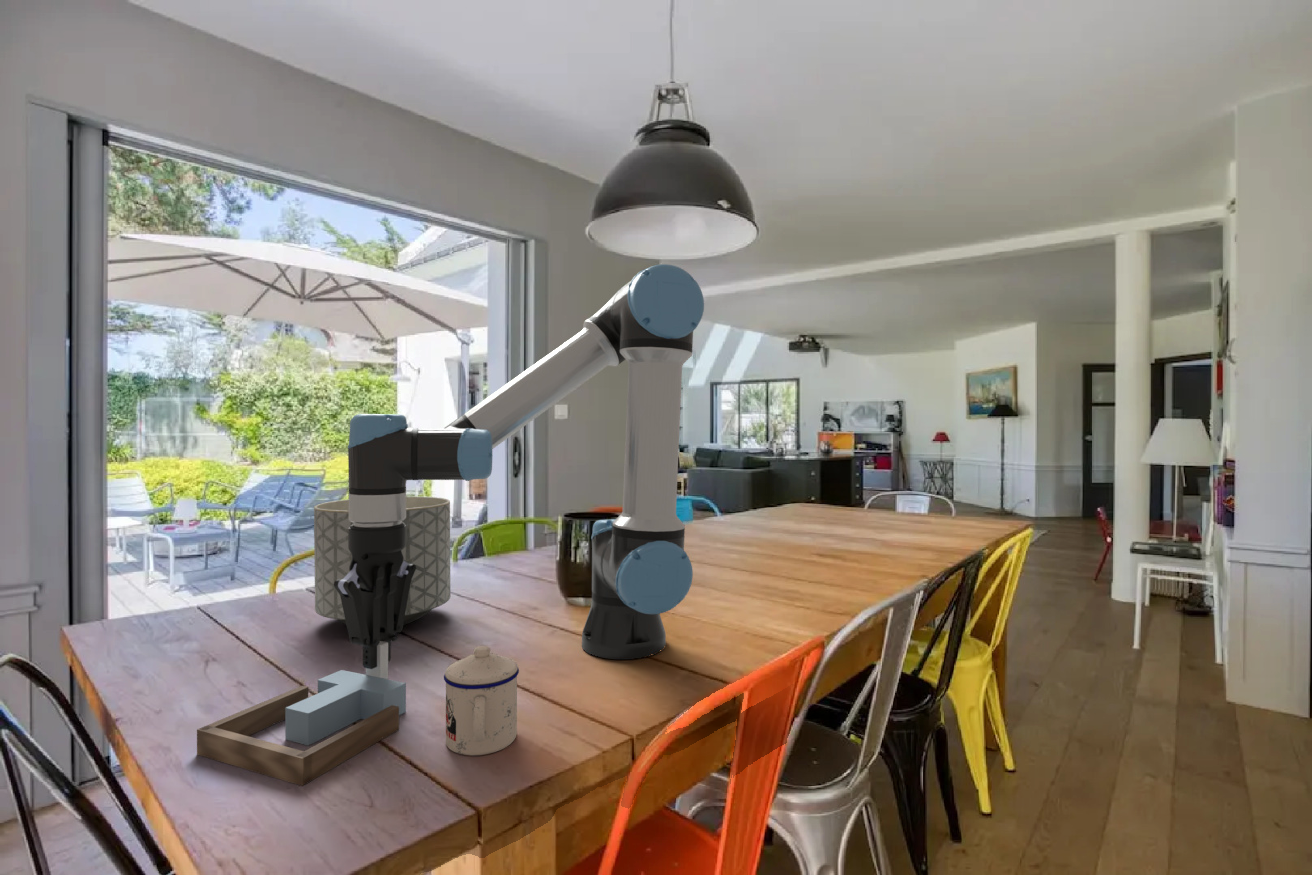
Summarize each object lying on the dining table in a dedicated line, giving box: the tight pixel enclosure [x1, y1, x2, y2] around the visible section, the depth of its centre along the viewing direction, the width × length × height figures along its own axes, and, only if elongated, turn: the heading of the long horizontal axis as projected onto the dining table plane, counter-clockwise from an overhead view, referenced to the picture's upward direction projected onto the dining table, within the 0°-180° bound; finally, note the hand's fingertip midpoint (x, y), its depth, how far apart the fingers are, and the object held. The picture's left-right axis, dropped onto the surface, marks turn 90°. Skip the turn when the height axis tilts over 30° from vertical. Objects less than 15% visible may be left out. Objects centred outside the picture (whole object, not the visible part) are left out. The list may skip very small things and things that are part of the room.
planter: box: [313, 495, 451, 626], centre depth 129 cm, size 25×25×24 cm
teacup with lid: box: [443, 645, 520, 756], centre depth 80 cm, size 12×9×12 cm
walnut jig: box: [196, 685, 400, 787], centre depth 80 cm, size 17×14×3 cm
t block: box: [284, 669, 407, 746], centre depth 85 cm, size 12×12×4 cm
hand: (376, 687), depth 92 cm, fingers closed
